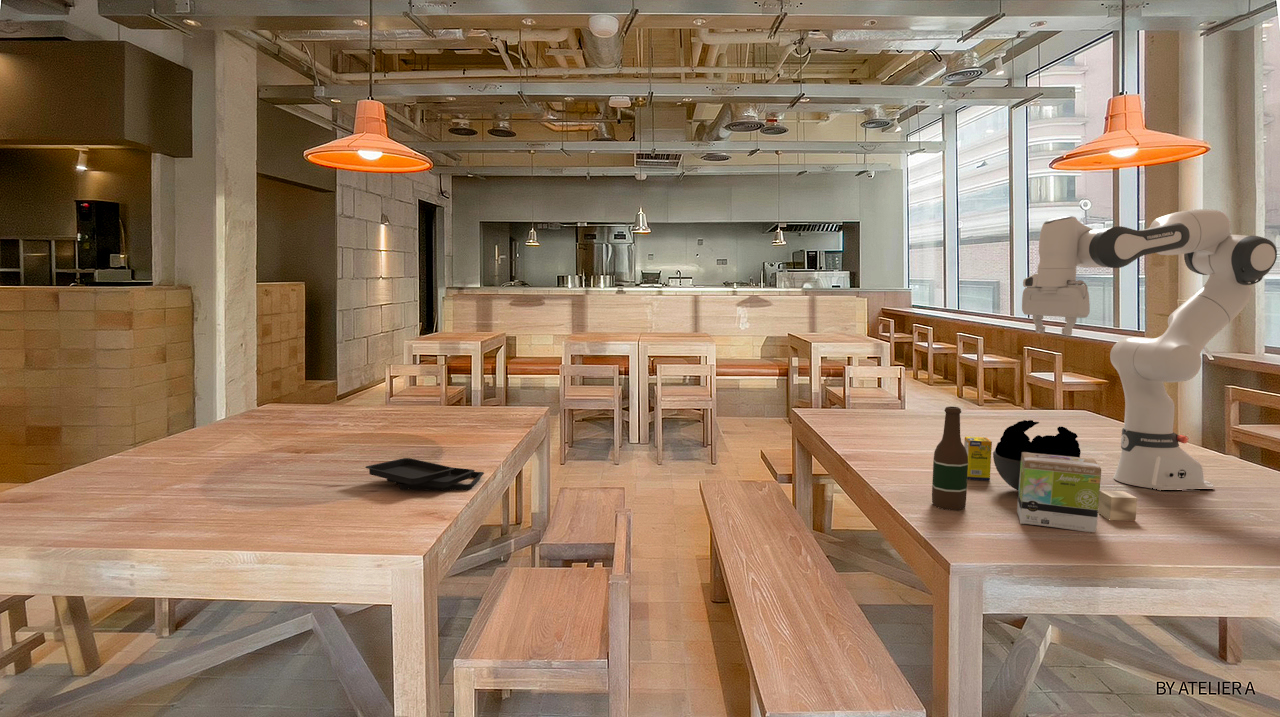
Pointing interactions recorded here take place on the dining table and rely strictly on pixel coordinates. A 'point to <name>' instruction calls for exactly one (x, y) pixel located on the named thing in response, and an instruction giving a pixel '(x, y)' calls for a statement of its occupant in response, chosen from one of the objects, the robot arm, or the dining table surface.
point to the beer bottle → (950, 465)
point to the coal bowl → (1030, 448)
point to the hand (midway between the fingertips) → (1053, 334)
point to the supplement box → (978, 457)
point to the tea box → (1059, 491)
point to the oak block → (1117, 505)
